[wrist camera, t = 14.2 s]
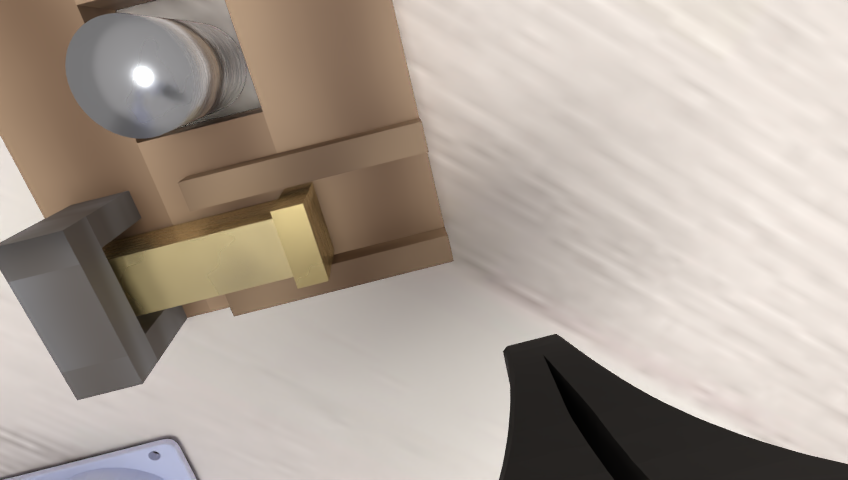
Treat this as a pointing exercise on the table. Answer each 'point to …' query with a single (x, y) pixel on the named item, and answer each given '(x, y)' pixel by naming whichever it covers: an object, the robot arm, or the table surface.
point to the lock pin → (225, 253)
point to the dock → (210, 171)
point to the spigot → (152, 72)
